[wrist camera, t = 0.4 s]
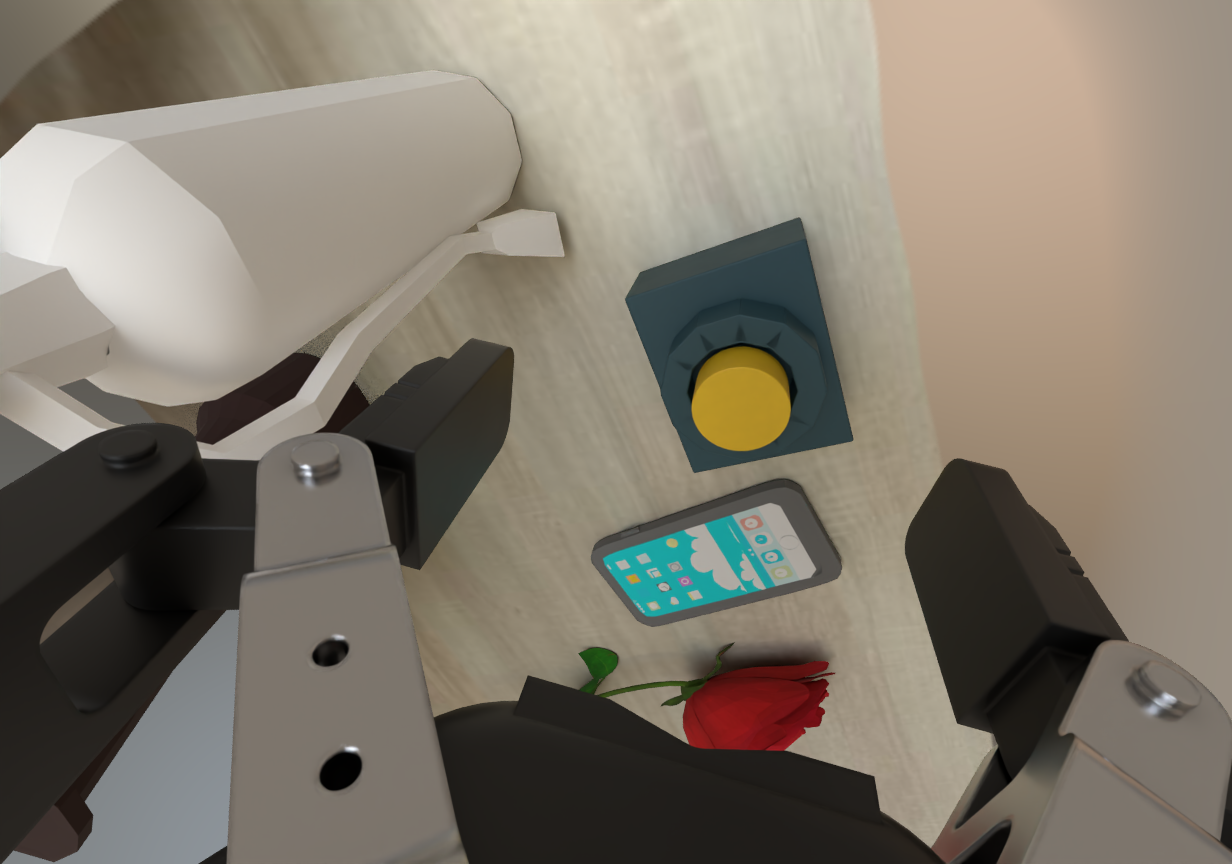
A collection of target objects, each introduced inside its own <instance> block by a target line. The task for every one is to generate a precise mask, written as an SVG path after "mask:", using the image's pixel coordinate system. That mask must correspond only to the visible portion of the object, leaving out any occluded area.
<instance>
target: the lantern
mask: <svg viewBox="0 0 1232 864" xmlns="http://www.w3.org/2000/svg"><path fill="white" fill-rule="evenodd" d="M320 360H321V359H320V358H317V357H314V356H312V355H309V354H306V353H292V354H291V355H290V356H288V357H287V358H285V359H284V360H282V361H281V362H280V363H278V364H277V365H275V366H274V367H273V368H271V369H270V370H268V371H267V372H265V373H264V374H263V375H261V376H259V377H257V378H255V379H253V380H252V381H250V382H248V383H246V384H244V385H243V386H241V387H239V388H237V389H235V390H233V391H232V392H230V393H228V394H226V395H224V396H222V397H221V398H219V399H217V400H212V401H205V402H204V403H203V404H202V406H201V407H200V408H199V412H198V417H197V422H196V424H197V434H196V436H195V438H196V441H197V442H202V443H206V444H210V445H214V444H216V443H217V442H219V441H221V440H222V439H224V438H226V437H228V436H229V435H231V434H233V433H235V432H236V431H238V430H240V429H241V428H243V427H245V426H247V425H248V424H250V423H252V422H254V421H255V420H257V419H259V418H260V417H262V416H264V415H266V414H267V413H269V412H271V411H273V410H274V409H276V408H278V407H279V406H281V405H283V404H285V403H286V402H288V401H290V400H291V399H293V398H295V397H296V395H297V394H298V392H299V391H300V389H301V388H302V386H303V385H304V383H305V382H306V380H307V379H308V377H309V376H310V374H311V373H312V371H313V370H314V368H315V367H316V366H317V364H318V363H319V361H320ZM368 406H369V404H368V402H367V400H366V399H365V397H364V396H363V394H362V393H361V391H360V389H359V388H358V386H357V385H356V384H355V383H354V382H352V384H351V385H350V387H349V389H348V390H347V392H346V393H345V395H344V397H343V398H342V400H341V401H340V403H339V405H338V406H337V408H336V409H335V411H334V413H333V414H332V416H331V417H330V419H329V420H328V422H327V424H326V425H325V426H324V427H323V428H321V429H319V430H318V431H316V432H314V433H339V432H340V431H341V430H342V429H343V428H344V427H345V426H347V425H348V424H349V423H350V422H351V421H352V420H353V419H355V418H356V417H357V416H358V415H359V414H360V413H361V412H363V411H364V410H365V409H366V408H367V407H368ZM113 581H114V578H113V576H112V574H111V572H110V570H109V568H107V569H106V570H104V571H103V572H102V573H101V574H100V575H98V576H97V577H96V578H95V579H94V580H92V581H91V582H90V583H89V584H88V585H86V586H85V587H84V588H83V589H82V590H81V591H79V592H78V593H77V594H76V595H75V596H73V597H72V598H71V599H70V600H69V601H67V602H66V603H65V604H64V605H63V606H62V607H60V608H59V609H58V610H57V611H56V612H55V614H54V615H53V616H52V617H51V618H50V620H49V621H48V623H47V625H46V626H45V628H44V630H43V633H42V635H41V639H40V644H41V643H42V642H43V641H45V640H46V639H47V638H48V637H49V636H50V635H52V634H53V633H54V632H55V631H56V630H57V629H58V628H60V627H61V626H62V625H63V624H64V623H65V622H67V621H68V620H69V619H70V618H71V617H72V616H73V615H75V614H76V613H77V612H78V611H79V610H80V609H82V608H83V607H84V606H85V605H86V604H87V603H88V602H90V601H91V600H92V599H93V598H94V597H95V596H97V595H98V594H99V593H100V592H101V591H102V590H103V589H105V588H106V587H107V586H108V585H109V584H110V583H112V582H113ZM171 673H172V672H171ZM171 673H170V674H171ZM170 674H169V675H168V677H169V676H170ZM168 677H167V678H168ZM167 678H166V679H165V680H164V681H163V682H162V683H161V684H160V686H159V687H158V688H157V689H156V690H155V691H154V692H153V694H152V695H151V696H150V697H149V698H148V699H147V700H146V701H145V703H144V704H143V705H142V706H141V707H140V708H139V709H138V710H137V712H136V713H135V714H134V715H133V716H132V717H131V718H130V719H129V721H128V722H127V723H126V724H125V725H124V726H123V727H122V728H121V730H120V731H119V732H118V733H117V734H116V735H115V736H114V737H113V739H112V740H111V741H110V742H109V743H108V744H107V745H106V747H105V748H104V749H103V750H102V751H101V752H100V753H99V754H98V756H97V757H96V758H95V759H94V760H93V761H92V762H91V763H90V765H89V766H88V767H87V768H86V769H85V770H84V771H83V772H82V774H81V775H80V776H79V777H78V778H77V779H76V780H75V781H74V783H73V784H72V785H71V786H70V787H69V788H68V789H67V790H66V792H65V793H64V794H63V795H62V796H61V797H60V798H59V800H58V801H57V802H56V803H55V804H54V805H53V806H52V807H51V809H50V810H49V811H48V812H47V813H46V814H45V815H44V816H43V818H42V819H41V820H40V821H39V822H38V823H37V824H36V825H35V827H34V828H33V829H32V830H31V831H30V832H29V833H28V834H27V836H26V837H25V838H24V839H23V840H22V841H21V842H20V843H19V845H18V846H17V847H16V848H15V849H14V851H18V852H21V853H25V854H28V855H32V856H35V857H38V858H42V859H46V860H48V861H52V862H55V861H58V860H60V859H62V858H64V857H66V856H68V855H71V854H73V853H75V852H77V851H78V850H79V848H80V847H81V846H82V844H83V843H84V841H85V840H86V839H87V837H88V836H89V834H90V833H91V831H92V821H93V814H92V813H91V811H90V810H89V808H88V807H87V805H86V804H85V800H86V799H87V797H88V796H89V794H90V793H91V791H92V790H93V788H94V787H95V785H96V784H97V783H98V781H99V779H100V778H101V776H102V775H103V773H104V772H105V770H106V769H107V768H108V766H109V765H110V763H111V762H112V760H113V759H114V757H115V756H116V754H117V753H118V751H119V750H120V748H121V747H122V745H123V744H124V742H125V741H126V739H127V738H128V737H129V735H130V734H131V732H132V731H133V729H134V728H135V726H136V725H137V723H138V722H139V720H140V718H141V717H142V716H143V714H144V713H145V711H146V710H147V708H148V707H149V705H150V704H151V702H152V701H153V699H154V698H155V696H156V695H157V693H158V692H159V690H160V689H161V687H162V686H163V685H164V683H165V682H166V680H167Z"/></svg>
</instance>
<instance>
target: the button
mask: <svg viewBox="0 0 1232 864" xmlns="http://www.w3.org/2000/svg"><path fill="white" fill-rule="evenodd" d="M790 413H791V403H790V393H789V382H788V377H787V375H786V372H785V370H784V368H783V367H782V365H781V364H780V363H779V362H778V361H777V360H776V359H775V358H774V357H773V356H771V355H770V354H768V353H766V352H765V351H762V350H760V349H756V348H752V347H733V348H728V349H726V350H723V351H720V352H718V353H717V354H715V355H713V356H712V357H711V358H710V359H708V360H707V361H706V362H705V364H704V365H703V366H702V368H701V369H700V371H699V373H698V376H697V380H696V385H695V390H694V395H693V400H692V417H693V420H694V423H695V425H696V427H697V428H698V430H699V431H700V433H701V434H702V435H703V436H704V437H705V438H706V439H707V440H709V441H710V442H712V443H713V444H715V445H717V446H719V447H722V448H725V449H728V450H734V451H749V450H754V449H758V448H761V447H764V446H766V445H768V444H770V443H771V442H772V441H774V440H775V439H776V438H777V437H779V436H780V434H781V433H782V432H783V431H784V429H785V428H786V426H787V424H788V422H789V418H790Z"/></svg>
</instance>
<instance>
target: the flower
mask: <svg viewBox="0 0 1232 864" xmlns="http://www.w3.org/2000/svg"><path fill="white" fill-rule="evenodd" d="M733 644H734V643H733ZM733 644H731V645H729V646H728V647H726V648H725V649H723V650H722V651H721V652H719V653H718V655H717V656H716V660H717V664H716V666H715V669H714V670H713V671H712V672H711V673H709V674H708V675H706V676H705V677H704V678H702V679H696V680H692V681H688V682H686V681H665V682H653V683H647V684H641V685H635V686H630V687H625V688H621V689H616V690H612V691H609V692H606V693H602V694H600V695H597V696H601V697H604V698H606V697H609V696H613V695H616V694H620V693H625V692H630V691H636V690H641V689H647V688H655V687H664V686H681V693H682V695H680V696H677V697H674V698H672V699H669V700H667V701H666V702H664V703H663V704H662V705H661V706H663V705H668V706H673V705H677V704H679V703H681V702H682V701H683V700H684V701H686V704H685V709H684V713H683V728H684V731H685V734H686V737H687V739H688V742H689V745H691V746H694V747H697V748H704V749H739V750H777V751H784V750H785V749H786V748H787V747H789V746H790V745H791V744H792V743H793V742H794V741H795V740H797V739H798V738H799V737H800V736H802V735H801V734H805V733H806V732H805V729H804V727H806V728H810V727H818V726H820V723H821V721H822V715H824V714H825V710H824V709H823V708H821V707H818V706H819V704H820V703H821V702H822V701H823V700H824V699H825V697H828V696H829V693H828V692H827V690H826V688H827V686H828V685H829V683H828V682H827V681H826V679H823V678H822V679H820V680H817V681H812V680H813V679H815V678H818V677H823V676H828V675H833V674H835V673H832V672H831V673H825V674H821V675H818V676H815V677H807V676H810V675H813V674H816V673H819V672H822V671H824V670H827V667H828V665H829V663H828V662H826V661H813V662H810V663H807V664H803V665H795V666H770V667H753V668H746V669H738V670H734V671H730V672H727V673H723V674H719V675H716V676H713V677H711V676H712V675H713V674H715V673H716V672H717V671H718V670H719V669H720V668H721V666H722V663H721V661H720V656H721V655H722V654H723V653H724V652H725V651H726V650H728V649H729V648H730V647H731V646H732V645H733ZM578 654H579V655H580V656H581V657H582V659H583V660H584V661H585V663H586V665H587V666H588V669H589V671H590V673H591V675H592V676H593V678H594V679H592V680H591V681H590V682H589V683H587V684H586V685H585V686H583V687H582V688H581V689H580V691H583V692H587V693H590V694H594V693H595V691H596V689H597V687H598V686H599V685H600V683H601V682H602V681H603V680H604V679H605V677H606V676H607V675H609V674H610V673H611V672H613V670H614V669H615V668H616V666H617V663H618V659H617V656H616V654H615V653H613V652H611V651H609V650H606V649H601V648H593V649H588V650H585V651H583V652H580V653H578ZM709 677H711V678H709ZM602 678H603V679H602ZM599 679H602V680H601V681H600V682H599V683H598V681H599ZM597 683H598V684H597Z"/></svg>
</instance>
